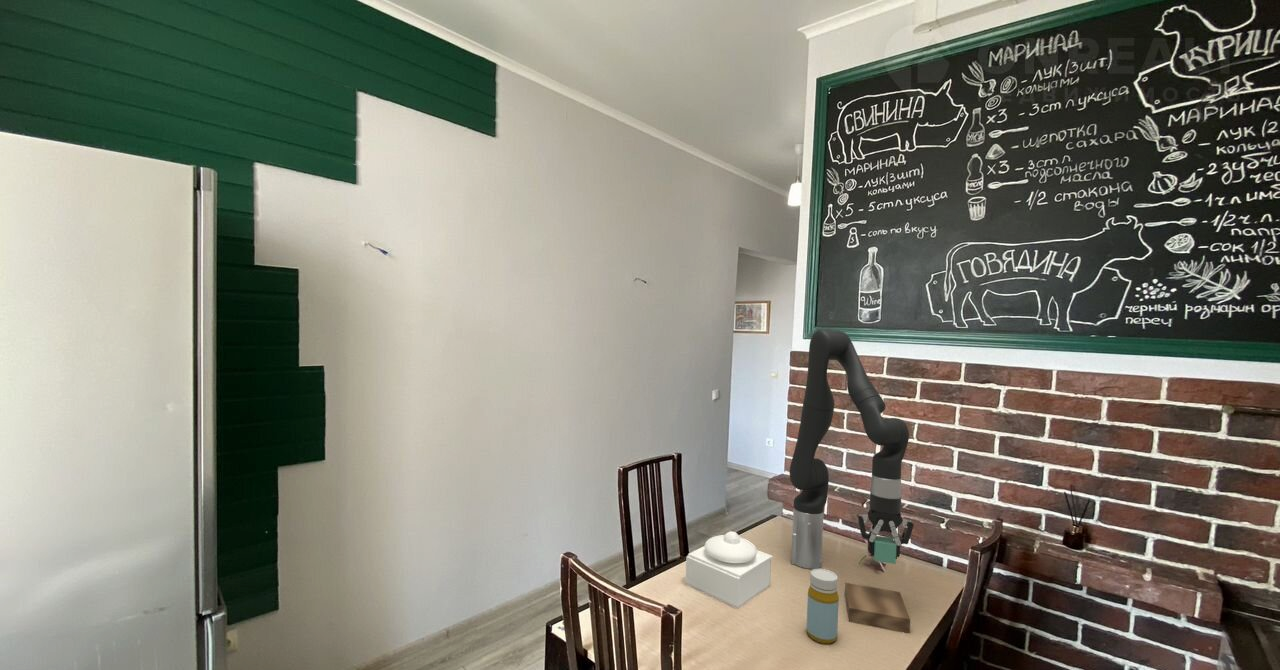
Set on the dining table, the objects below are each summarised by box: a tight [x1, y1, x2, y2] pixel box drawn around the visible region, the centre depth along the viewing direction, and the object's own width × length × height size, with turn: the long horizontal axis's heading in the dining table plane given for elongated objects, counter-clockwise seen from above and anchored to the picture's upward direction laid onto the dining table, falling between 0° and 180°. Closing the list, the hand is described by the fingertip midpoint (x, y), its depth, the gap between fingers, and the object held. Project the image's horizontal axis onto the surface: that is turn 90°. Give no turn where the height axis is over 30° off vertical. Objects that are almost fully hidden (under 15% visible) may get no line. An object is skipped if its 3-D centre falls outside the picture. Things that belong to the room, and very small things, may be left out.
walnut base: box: [844, 582, 911, 634], centre depth 133 cm, size 14×14×4 cm
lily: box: [858, 539, 887, 573], centre depth 161 cm, size 12×12×10 cm
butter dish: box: [685, 530, 773, 609], centre depth 145 cm, size 18×18×16 cm
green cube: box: [872, 535, 897, 565], centre depth 134 cm, size 5×5×5 cm
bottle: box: [806, 568, 840, 645], centre depth 122 cm, size 7×7×15 cm
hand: (883, 555), depth 134 cm, fingers closed on green cube, 5 cm apart
